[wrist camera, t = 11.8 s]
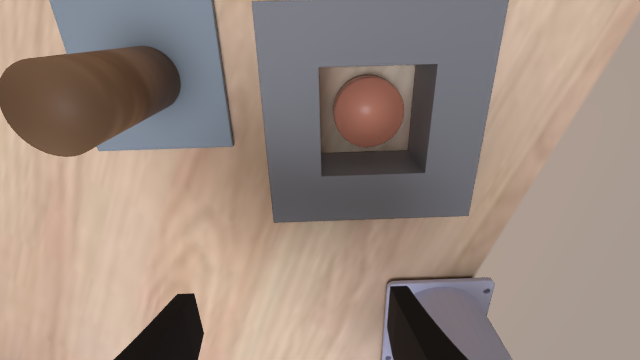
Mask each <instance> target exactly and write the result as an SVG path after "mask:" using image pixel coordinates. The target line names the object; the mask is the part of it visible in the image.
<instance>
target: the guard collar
mask: <svg viewBox="0 0 640 360" xmlns="http://www.w3.org/2000/svg"><path fill="white" fill-rule="evenodd" d="M508 2H509V0H284V1H252V9H253V19H254V29H255V40H256V50H257V60H258V70H259V80H260V90H261V100H262V110H263V120H264V130H265V140H266V150H267V160H268V170H269V180H270V190H271V200H272V210H273V220H274V223H278V222H307V221H336V220H365V219H394V218H422V217H451V216H469V210H470V205H471V200H472V194H473V189H474V184H475V178H476V173H477V168H478V162H479V157H480V152H481V146H482V141H483V136H484V130H485V125H486V120H487V114H488V109H489V104H490V98H491V93H492V88H493V82H494V77H495V72H496V66H497V61H498V56H499V50H500V45H501V40H502V34H503V29H504V24H505V18H506V13H507V8H508ZM385 65H416V67H415V78H414V89H413V100H412V111H411V122H410V133H409V145H408V150H403V151H373V152H342V153H321V142H320V105H319V67H352V66H385Z"/></svg>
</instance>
